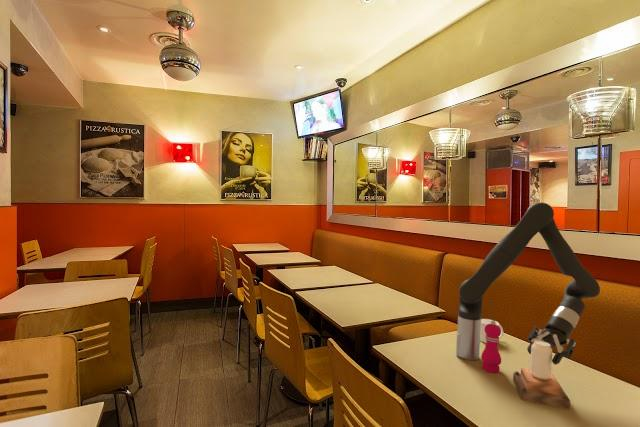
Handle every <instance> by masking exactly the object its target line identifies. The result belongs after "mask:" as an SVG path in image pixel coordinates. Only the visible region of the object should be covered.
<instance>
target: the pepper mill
mask: <svg viewBox="0 0 640 427" xmlns="http://www.w3.org/2000/svg"><path fill="white" fill-rule="evenodd" d="M491 320H492V321H491V324H488V325H486V326H485V333H486V334H487V335H486V340H487V343H485V347H484V349H483V351H482V353H481V356H480V358H481V361H482V364H481V368H482V369H483V370H484V372H487V373H490V374H491V373H492V374H498V373H499V372H500V366H499V365H501V364H502V357H501V354H500V352H499V347H498V343H499V342H500V338H499V336H500V335H501V329H500V327H499V326H497V325H495V324H496V322H497V321H496V320H493V319H491ZM495 321H496V322H495Z"/></svg>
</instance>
